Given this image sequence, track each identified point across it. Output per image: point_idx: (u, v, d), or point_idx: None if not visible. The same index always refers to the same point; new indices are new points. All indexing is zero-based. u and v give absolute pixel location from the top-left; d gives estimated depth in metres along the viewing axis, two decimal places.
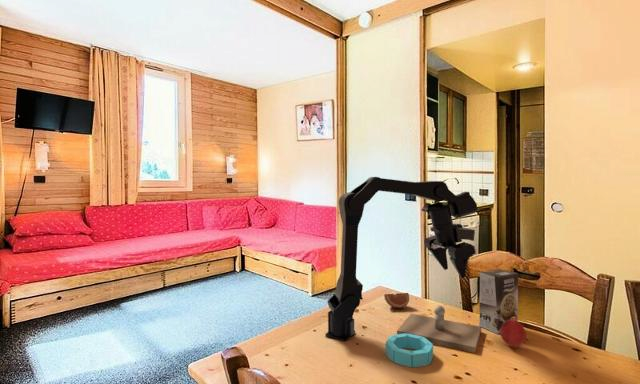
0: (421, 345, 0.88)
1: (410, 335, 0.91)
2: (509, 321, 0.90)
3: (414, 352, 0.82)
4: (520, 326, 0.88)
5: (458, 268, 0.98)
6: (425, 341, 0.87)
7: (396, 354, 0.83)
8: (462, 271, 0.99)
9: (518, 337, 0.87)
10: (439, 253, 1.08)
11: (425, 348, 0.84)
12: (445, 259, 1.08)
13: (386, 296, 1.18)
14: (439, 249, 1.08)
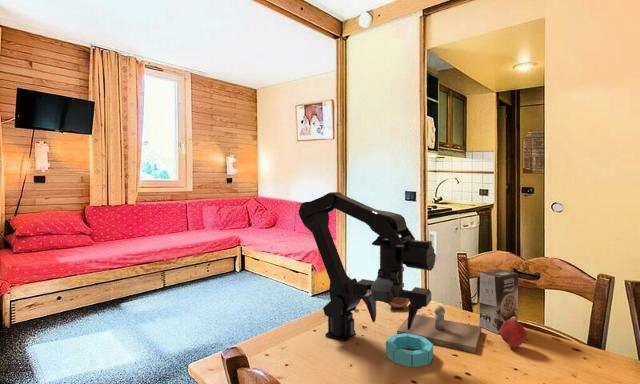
0: (421, 345, 0.88)
1: (410, 335, 0.91)
2: (509, 321, 0.90)
3: (414, 352, 0.82)
4: (520, 326, 0.88)
5: None
6: (425, 341, 0.87)
7: (396, 354, 0.83)
8: None
9: (518, 337, 0.87)
10: None
11: (425, 348, 0.84)
12: None
13: None
14: None
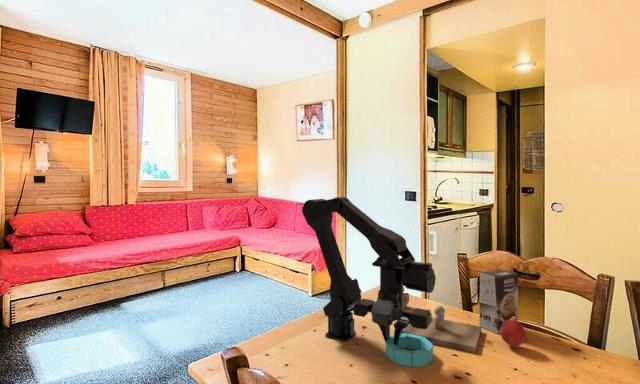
0: (421, 345, 0.88)
1: (410, 335, 0.91)
2: (509, 321, 0.90)
3: (414, 352, 0.82)
4: (520, 326, 0.88)
5: None
6: (425, 341, 0.87)
7: (396, 354, 0.83)
8: None
9: (518, 337, 0.87)
10: None
11: (425, 348, 0.84)
12: None
13: None
14: None
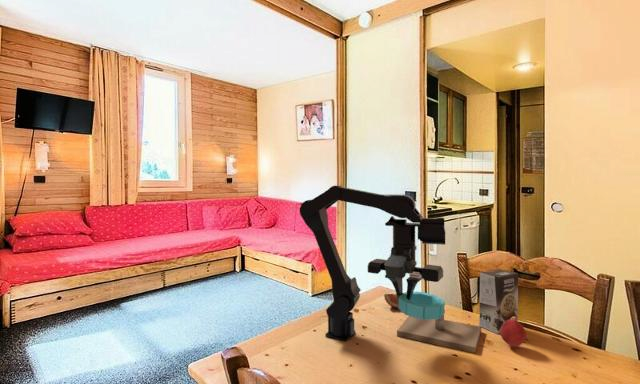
0: (433, 302, 0.91)
1: (422, 293, 0.94)
2: (509, 321, 0.90)
3: (426, 306, 0.85)
4: (520, 326, 0.88)
5: None
6: (437, 298, 0.91)
7: (409, 307, 0.86)
8: None
9: (518, 337, 0.87)
10: None
11: (437, 304, 0.87)
12: None
13: (386, 296, 1.18)
14: None
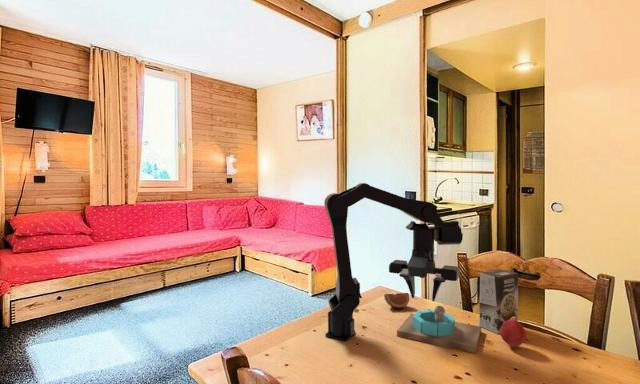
0: None
1: (433, 311, 1.03)
2: (509, 321, 0.90)
3: (439, 323, 0.94)
4: (520, 326, 0.88)
5: None
6: (447, 315, 1.00)
7: (423, 325, 0.95)
8: None
9: (518, 337, 0.87)
10: None
11: (448, 321, 0.96)
12: None
13: (386, 296, 1.18)
14: None
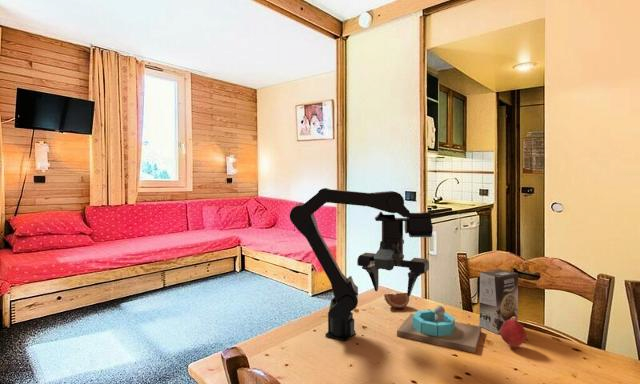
0: None
1: (433, 311, 1.03)
2: (509, 321, 0.90)
3: (439, 323, 0.94)
4: (520, 326, 0.88)
5: None
6: (447, 315, 1.00)
7: (423, 325, 0.95)
8: None
9: (518, 337, 0.87)
10: None
11: (448, 321, 0.96)
12: None
13: (386, 296, 1.18)
14: None
